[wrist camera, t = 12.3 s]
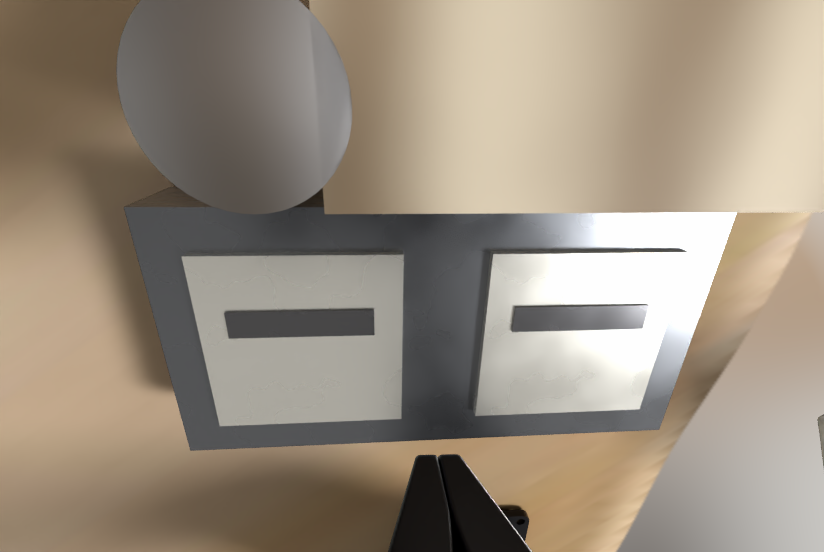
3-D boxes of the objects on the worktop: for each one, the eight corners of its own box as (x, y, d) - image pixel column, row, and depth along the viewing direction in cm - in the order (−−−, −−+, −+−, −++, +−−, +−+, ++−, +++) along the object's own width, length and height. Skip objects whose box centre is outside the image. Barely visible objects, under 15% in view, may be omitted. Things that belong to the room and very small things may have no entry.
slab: (621, 385, 20) (664, 436, 17) (217, 399, 19) (186, 458, 16) (678, 190, 16) (747, 211, 13) (170, 187, 15) (115, 210, 12)
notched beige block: (243, 167, 14) (149, 215, 9) (221, 25, 13) (84, -40, 7) (702, 169, 16) (895, 212, 10) (740, 42, 14) (1004, 0, 8)
